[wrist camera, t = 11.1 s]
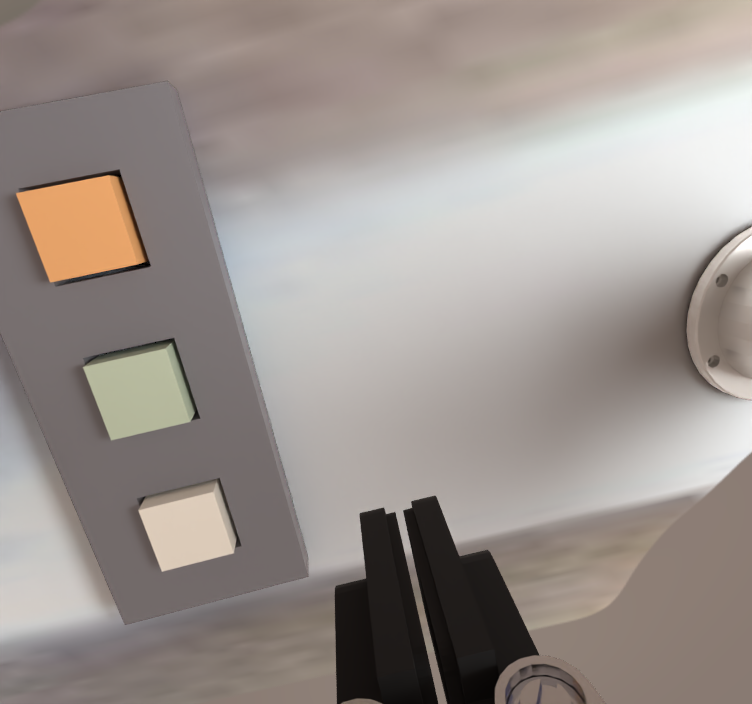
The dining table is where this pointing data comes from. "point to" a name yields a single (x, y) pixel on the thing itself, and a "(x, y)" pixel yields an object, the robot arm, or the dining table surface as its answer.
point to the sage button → (141, 389)
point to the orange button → (83, 227)
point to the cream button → (189, 524)
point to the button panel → (138, 327)
